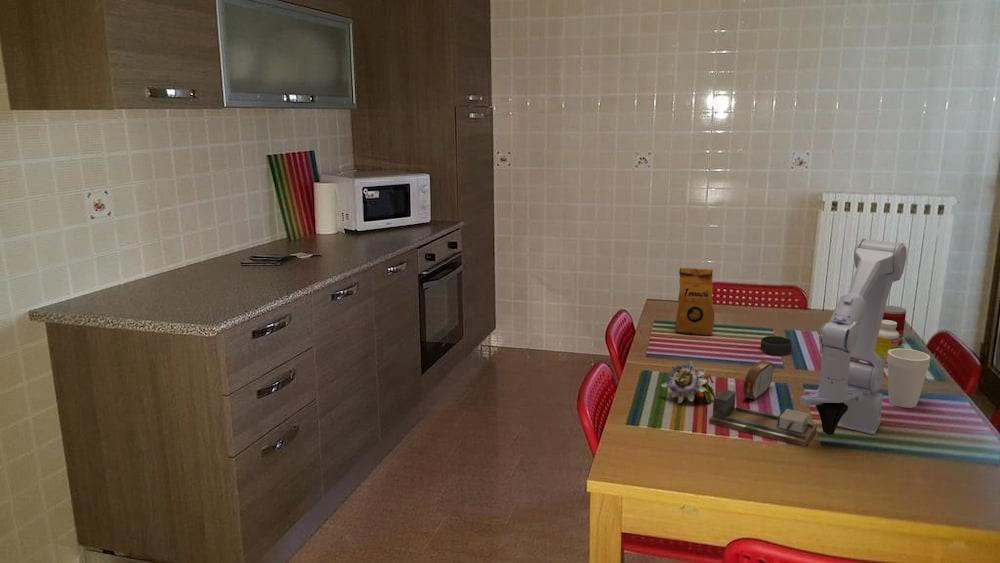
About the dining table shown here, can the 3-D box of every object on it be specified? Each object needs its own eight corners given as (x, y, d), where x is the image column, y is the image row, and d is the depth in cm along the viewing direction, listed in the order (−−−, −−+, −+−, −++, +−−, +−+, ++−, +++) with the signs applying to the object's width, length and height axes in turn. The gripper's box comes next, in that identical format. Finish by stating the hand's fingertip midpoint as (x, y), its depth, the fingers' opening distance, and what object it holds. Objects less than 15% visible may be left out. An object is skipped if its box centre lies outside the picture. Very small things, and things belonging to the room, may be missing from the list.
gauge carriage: (808, 426, 170) (809, 413, 170) (798, 439, 164) (800, 426, 163) (783, 420, 174) (784, 408, 173) (773, 433, 167) (774, 420, 166)
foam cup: (889, 393, 194) (895, 346, 191) (928, 402, 187) (935, 354, 184) (876, 403, 187) (882, 354, 184) (916, 413, 181) (923, 363, 178)
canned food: (903, 340, 237) (907, 307, 234) (900, 347, 230) (905, 313, 228) (876, 336, 241) (880, 304, 238) (873, 343, 234) (877, 309, 232)
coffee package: (712, 338, 240) (716, 272, 235) (673, 334, 244) (676, 270, 239) (714, 329, 249) (718, 266, 244) (677, 326, 253) (680, 264, 248)
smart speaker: (795, 356, 223) (796, 344, 222) (765, 356, 223) (766, 344, 222) (784, 347, 231) (785, 335, 230) (756, 347, 232) (757, 335, 231)
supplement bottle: (889, 369, 211) (895, 326, 208) (866, 363, 216) (871, 321, 213) (899, 364, 215) (904, 322, 212) (875, 358, 220) (880, 317, 217)
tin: (762, 384, 200) (764, 355, 198) (773, 387, 198) (776, 357, 196) (740, 401, 189) (743, 370, 187) (752, 404, 187) (755, 373, 185)
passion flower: (679, 422, 190) (653, 385, 189) (690, 400, 198) (664, 364, 198) (716, 407, 183) (689, 369, 182) (725, 385, 192) (699, 348, 191)
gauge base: (816, 431, 172) (818, 407, 170) (805, 447, 164) (807, 422, 162) (723, 409, 184) (724, 387, 183) (709, 423, 176) (710, 400, 175)
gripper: (849, 366, 167) (843, 421, 171) (794, 372, 164) (788, 428, 167) (872, 377, 161) (865, 434, 164) (814, 383, 157) (808, 442, 160)
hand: (828, 432), depth 165 cm, fingers closed
